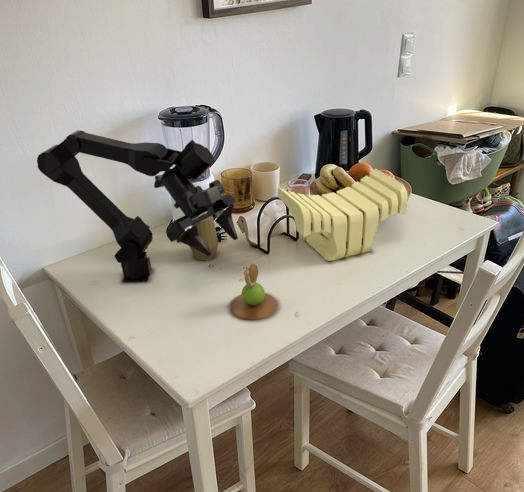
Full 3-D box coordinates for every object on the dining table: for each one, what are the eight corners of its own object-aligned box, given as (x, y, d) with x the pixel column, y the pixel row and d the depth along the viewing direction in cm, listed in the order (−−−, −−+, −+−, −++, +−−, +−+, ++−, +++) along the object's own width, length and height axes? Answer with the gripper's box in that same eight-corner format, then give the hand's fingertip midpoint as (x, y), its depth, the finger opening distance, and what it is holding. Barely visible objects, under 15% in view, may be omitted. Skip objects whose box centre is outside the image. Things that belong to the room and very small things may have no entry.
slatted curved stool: (303, 272, 134) (304, 209, 124) (279, 246, 147) (277, 187, 137) (401, 248, 143) (409, 187, 133) (370, 225, 155) (375, 168, 145)
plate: (229, 321, 118) (229, 319, 118) (231, 294, 127) (231, 292, 127) (277, 319, 118) (277, 317, 117) (276, 293, 127) (276, 291, 127)
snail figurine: (237, 309, 121) (233, 265, 114) (247, 295, 125) (244, 251, 119) (258, 314, 119) (256, 269, 112) (268, 299, 124) (266, 255, 117)
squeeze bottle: (190, 249, 147) (183, 189, 137) (219, 247, 148) (213, 187, 138) (190, 263, 141) (181, 201, 131) (219, 261, 141) (213, 199, 131)
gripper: (167, 186, 106) (212, 247, 107) (226, 160, 118) (266, 215, 119) (148, 213, 115) (189, 269, 115) (205, 186, 127) (242, 237, 127)
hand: (223, 247), depth 119 cm, fingers open, 9 cm apart
